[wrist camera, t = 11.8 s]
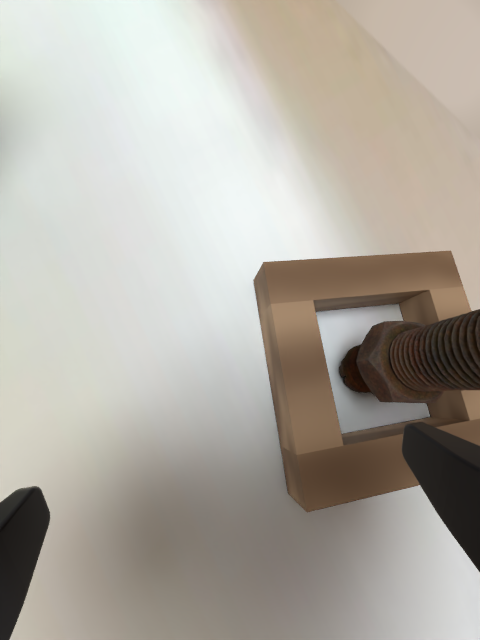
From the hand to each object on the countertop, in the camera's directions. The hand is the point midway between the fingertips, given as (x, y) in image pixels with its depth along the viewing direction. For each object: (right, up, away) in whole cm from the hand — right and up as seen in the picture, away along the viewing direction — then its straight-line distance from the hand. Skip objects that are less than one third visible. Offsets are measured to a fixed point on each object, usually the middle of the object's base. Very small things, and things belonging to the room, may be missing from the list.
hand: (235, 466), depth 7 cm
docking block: (+9, 0, +14) cm, 16 cm away
